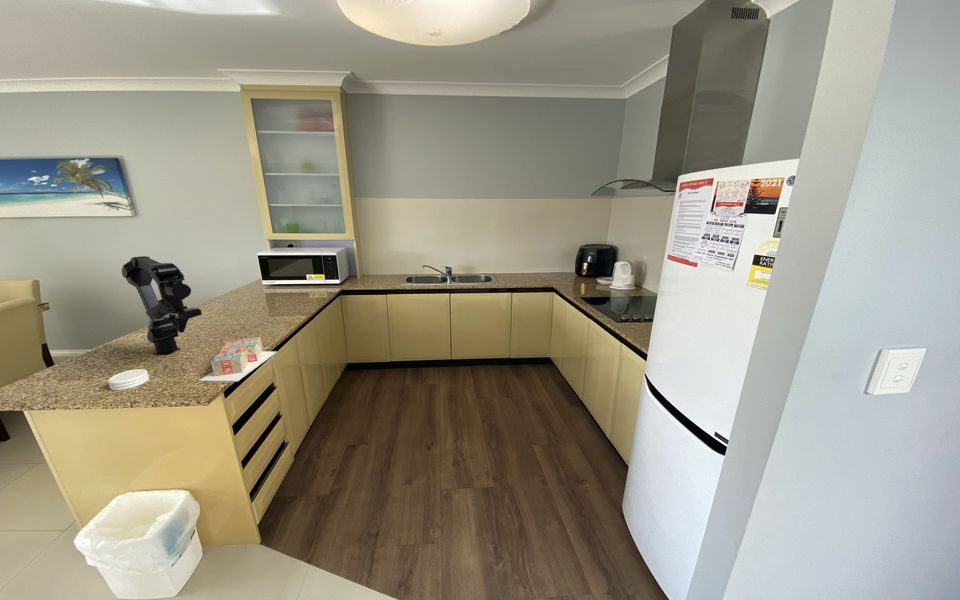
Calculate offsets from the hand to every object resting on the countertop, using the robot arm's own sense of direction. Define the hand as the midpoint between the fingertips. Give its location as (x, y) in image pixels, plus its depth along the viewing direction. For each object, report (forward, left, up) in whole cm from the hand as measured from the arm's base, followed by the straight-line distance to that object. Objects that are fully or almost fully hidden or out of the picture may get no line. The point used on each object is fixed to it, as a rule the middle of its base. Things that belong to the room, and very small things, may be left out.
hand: (181, 332), depth 131 cm
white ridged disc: (-6, -18, -13) cm, 23 cm away
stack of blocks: (+16, -4, -9) cm, 19 cm away
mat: (+24, -4, -13) cm, 28 cm away
